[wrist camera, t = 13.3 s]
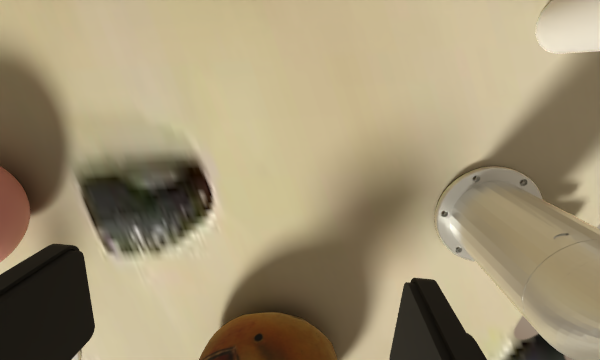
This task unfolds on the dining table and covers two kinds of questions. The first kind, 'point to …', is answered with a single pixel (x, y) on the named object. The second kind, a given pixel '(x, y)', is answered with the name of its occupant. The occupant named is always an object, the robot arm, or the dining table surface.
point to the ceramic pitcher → (268, 339)
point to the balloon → (12, 213)
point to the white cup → (569, 26)
